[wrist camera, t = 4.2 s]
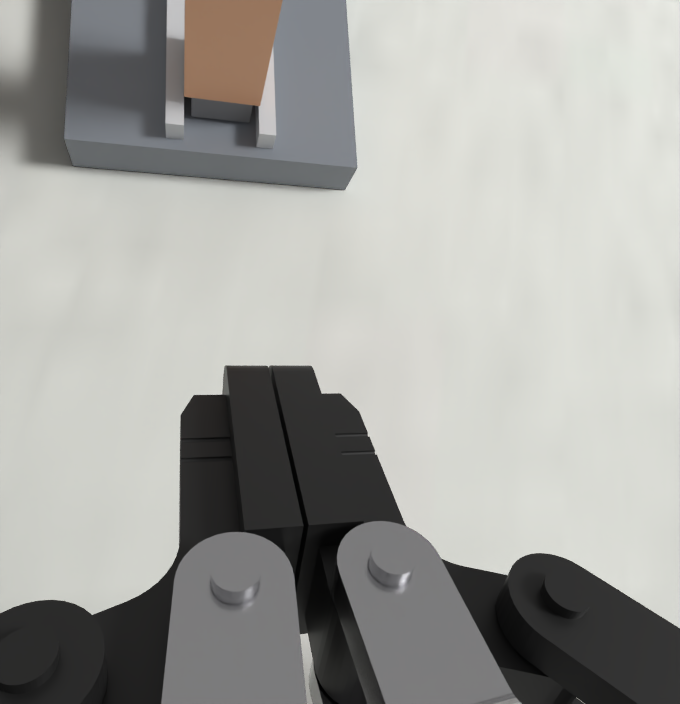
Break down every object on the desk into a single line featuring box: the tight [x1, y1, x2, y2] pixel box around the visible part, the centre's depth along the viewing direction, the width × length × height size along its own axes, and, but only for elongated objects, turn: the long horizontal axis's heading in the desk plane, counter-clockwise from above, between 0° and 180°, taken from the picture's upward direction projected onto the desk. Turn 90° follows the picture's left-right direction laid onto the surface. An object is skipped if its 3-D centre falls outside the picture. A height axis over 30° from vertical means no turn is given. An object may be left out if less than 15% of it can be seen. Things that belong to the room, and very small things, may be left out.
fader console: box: [64, 0, 357, 190], centre depth 26 cm, size 12×16×3 cm
